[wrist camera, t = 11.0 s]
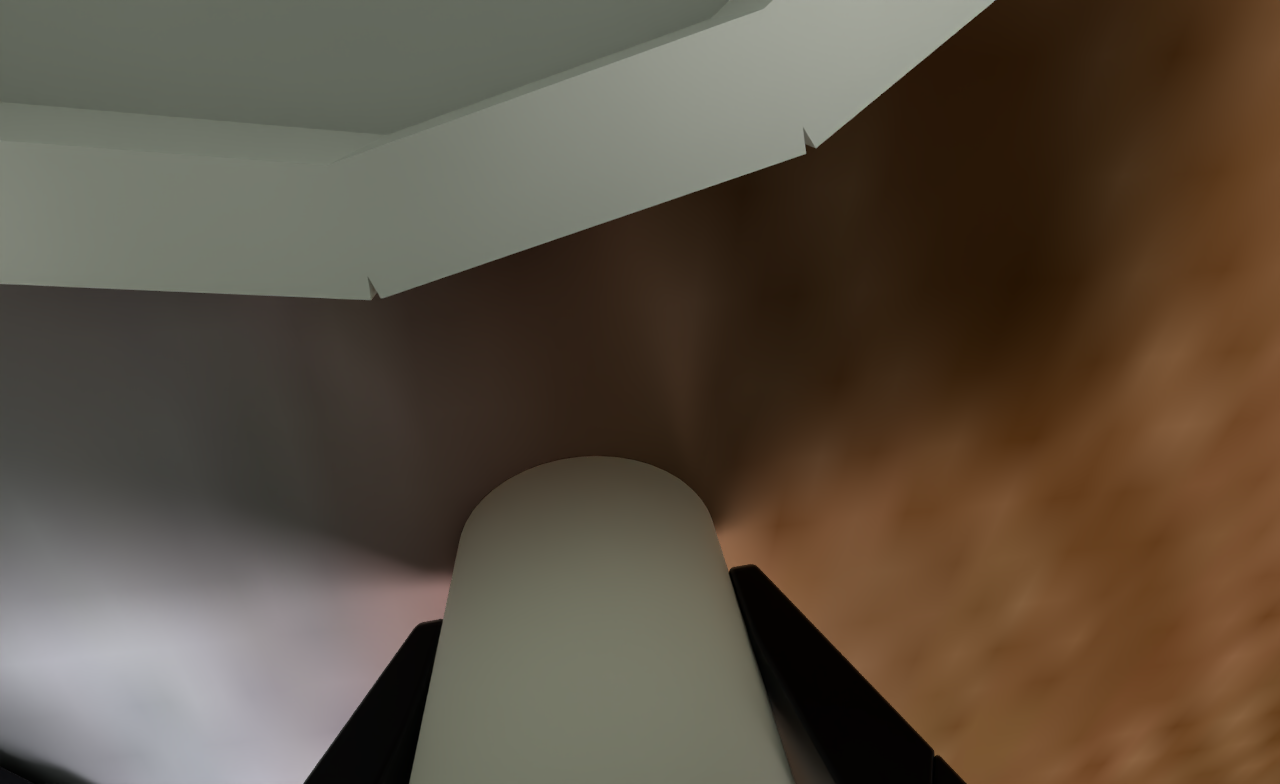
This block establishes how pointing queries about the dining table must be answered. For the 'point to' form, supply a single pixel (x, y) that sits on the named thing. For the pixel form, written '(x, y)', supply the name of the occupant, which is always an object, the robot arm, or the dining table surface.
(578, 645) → the cream bead
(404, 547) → the dining table surface
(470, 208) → the groove dish
